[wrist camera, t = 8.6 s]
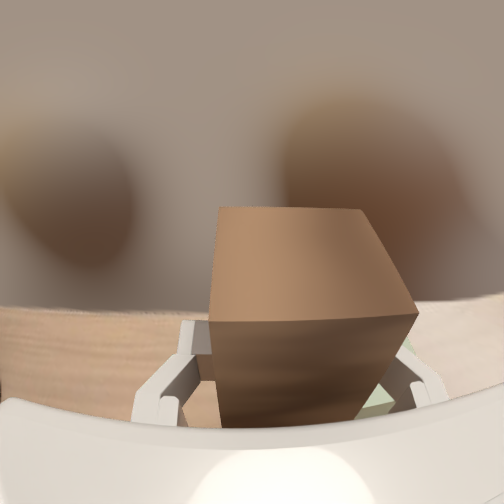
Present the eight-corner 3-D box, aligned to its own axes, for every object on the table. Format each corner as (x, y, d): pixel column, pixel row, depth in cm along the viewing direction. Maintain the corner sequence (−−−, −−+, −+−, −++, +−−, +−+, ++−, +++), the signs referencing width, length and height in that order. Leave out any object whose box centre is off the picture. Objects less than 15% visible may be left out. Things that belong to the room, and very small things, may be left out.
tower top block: (343, 426, 26) (355, 409, 23) (325, 360, 32) (333, 337, 30) (414, 409, 26) (431, 390, 24) (390, 350, 33) (402, 327, 30)
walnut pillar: (226, 455, 13) (208, 321, 7) (226, 371, 17) (219, 206, 11) (331, 449, 13) (419, 312, 7) (316, 368, 17) (361, 209, 11)
